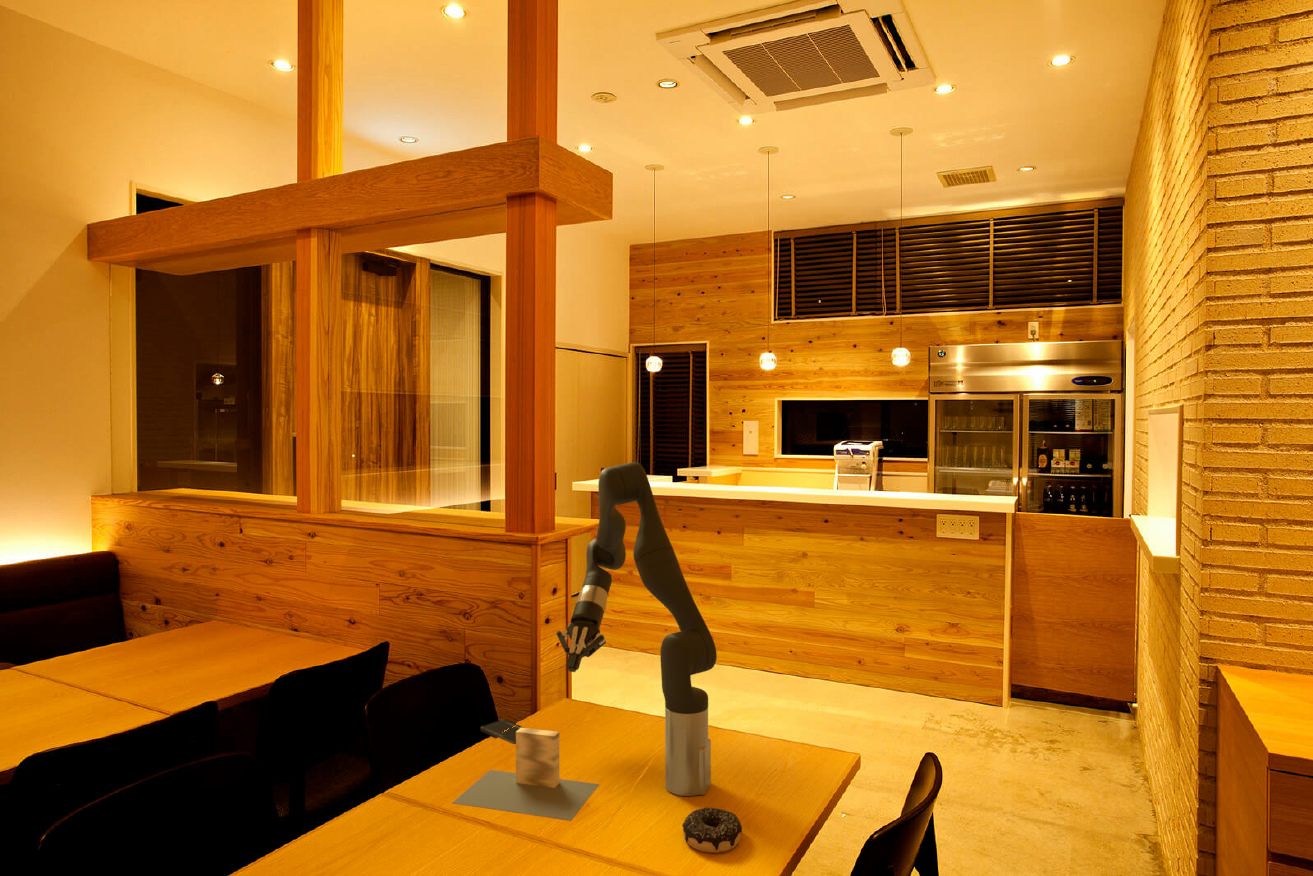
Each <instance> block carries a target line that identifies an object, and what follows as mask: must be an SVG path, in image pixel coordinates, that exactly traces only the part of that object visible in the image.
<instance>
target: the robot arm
mask: <svg viewBox="0 0 1313 876" xmlns="http://www.w3.org/2000/svg"><path fill="white" fill-rule="evenodd" d="M597 486H598V487H597V488H598V515H599V516H598V526H597V530H596V536H595V538H594V539H592V540H591V541H589V543H588V544H587V547H586V553H585V554H586V572H585V576H584V580H583V583H582V586H581V589H580V591H579V593H578V596H577V599H576V602H575V605H574V608H573V610H572V611H573V612H572V614H571V618H570V621H569V622H570V623H569V624H568V625H567V626H566V629H565V630H563V631H561V630H559V631H557V632H556V636H557V638H558V641H559V642H560V644H561V647H562V649H563V651H564V652H565V654H566V656H568V658H567V661H566V663H565V666H566V668H567V669H568V672H571V673H576V672H577V671H578V670H579V669H580V666H581V661H582V659H583V658H590V657H591V656H592V655H593V654H595V653H596V652H597V651H598V650H600V649H601V648H602V647H603V646H604V645H605V644H606V643H607V642H606V638H605V636H604V634H601V631H600V630H601V629H600V628H601V625H602V621H603V617H604V614H605V611H606V608H607V603H608V596H609V593H610V589H611V587H612V582H613V578H612V574H610V572H608V571H607V570H606V569H608V570H612V571H616V570H620V569H621V568H622V567H624V564H625V561H626V556H627V555H626V552H627V551H626V547H625V543H624V538H625V534H626V529H627V526H626V520H625V518H624V516H623V514H622V513H621V511H619V510H618V509H617V508H616V507H615V506H620V505H624V504H629V503H633V502H637V505H638V508H639V513H640V515H639V517H640V521H639V525H638V530H637V535H636V538H635V542H634V546H633V552H632V553H633V561H634V564H635V566H636V569H637V572H638V574H639V575H638V576H639V578H640V580H641V582H642V584H643V585H644V587H645V588H646V590H647V591H648V592H649V593H650V594H651V595H653V597H654V598H656V599H657V601H659V602H660V603H661V605H663V606H664V607H665V608H666V609H667V611H669V613H670V614H671V615H672V616H673V618H674V620H675V622H676V624H677V625H678V628H679V630H680V631H677V632H676V631H675V632H672V633H669V634H667V635H666V636H664V638H663V639H662V642H661V646H660V655H659V656H660V657H659V659H660V673H661V677H660V678H661V688H662V689H661V690H662V694H663V698H664V701H665V702H664V707H665V708H664V719H665V720H664V721H665V722H664V732H665V733H664V734H665V735H664V736H665V737H664V739H665V741H664V742H665V743H664V744H665V745H664V746H665V747H664V750H665V751H664V752H665V753H664V754H665V755H664V758H665V759H664V760H665V761H664V763H665V764H664V767H665V768H664V769H665V771H664V772H665V775H664V780H665V781H664V782H665V783H664V784H665V789H666V791H668V792H670V793H672V794H674V795H676V796H682V797H693V796H698V795H700V796H701V795H702V796H705V795H706V793H707V791H708V789H709V788H710V785H711V783H712V777H711V775H712V767H711V766H712V764H711V763H712V762H711V761H712V757H711V756H712V755H711V754H712V753H711V751H712V747H711V745H712V744H711V743H712V741H711V738H709V695H708V693H707V692H706V691H705V689H704V690H703V689H702V688H699V687H696V686H692V680H691V679H692V678H691V677H692V675H693V676H694V675H696V674H701V673H705V672H707V671H710V670H712V669H713V668H714V667H715V665H716V664H717V663H716V662H717V658H718V656H717V654H718V653H717V648H716V644H715V641H714V638H713V636H712V634H711V631H710V629H709V627H708V626H707V624H706V621H705V620H704V618H703V616H702V614H701V612H700V610H699V609H698V606H697V604H696V602H695V600H694V598H693V595H692V594H691V591H690V588H689V586H688V583H687V581H686V579H685V577H684V574H683V571H682V569H681V566H680V563H679V560H678V558H677V554H676V553H675V550H674V548H673V546H672V542H671V541H670V538H669V537H668V534H667V531H666V529H665V526H664V523H663V522H662V519H661V516H660V512H659V510H658V507H657V503H656V500H655V497H654V493H653V491H652V487H651V483H650V481H649V478H648V476H647V473H646V471H645V469H644V467H643V466H642V465H641V463H639V462H638V461H636V462H635V461H634V462H633V461H632V462H627V463H622V464H619V465H618V464H617V465H614V466H609V467H606V468H603V469H602V471H601V472H600V473H599V478H598V485H597ZM603 568H605V569H603ZM568 636H569V639H570V647H569V646H568V643H567V640H568Z"/></svg>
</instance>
